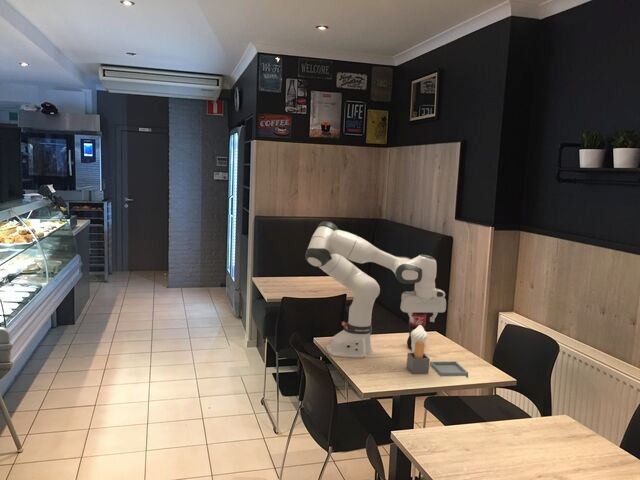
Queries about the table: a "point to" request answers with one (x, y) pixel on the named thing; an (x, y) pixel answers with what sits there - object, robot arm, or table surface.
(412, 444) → the table surface
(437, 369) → the tray
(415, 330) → the soft serve ice cream cone
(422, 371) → the square hollow box
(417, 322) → the cola bottle
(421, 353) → the peg
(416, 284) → the robot arm
